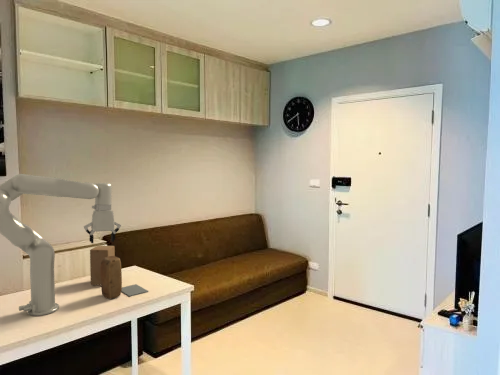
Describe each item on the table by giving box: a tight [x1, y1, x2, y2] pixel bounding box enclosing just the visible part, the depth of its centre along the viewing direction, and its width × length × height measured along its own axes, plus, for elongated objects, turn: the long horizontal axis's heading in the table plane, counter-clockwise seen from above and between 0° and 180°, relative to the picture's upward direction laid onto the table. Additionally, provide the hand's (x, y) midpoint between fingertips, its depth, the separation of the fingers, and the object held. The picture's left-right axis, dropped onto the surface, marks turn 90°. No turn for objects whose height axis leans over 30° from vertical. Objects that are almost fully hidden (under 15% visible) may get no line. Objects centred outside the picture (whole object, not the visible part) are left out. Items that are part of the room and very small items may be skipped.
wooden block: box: [89, 245, 116, 286], centre depth 205 cm, size 10×10×20 cm
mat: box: [121, 283, 149, 298], centre depth 193 cm, size 10×14×1 cm
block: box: [100, 255, 123, 300], centre depth 184 cm, size 11×8×20 cm
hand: (102, 242), depth 181 cm, fingers open, 9 cm apart
